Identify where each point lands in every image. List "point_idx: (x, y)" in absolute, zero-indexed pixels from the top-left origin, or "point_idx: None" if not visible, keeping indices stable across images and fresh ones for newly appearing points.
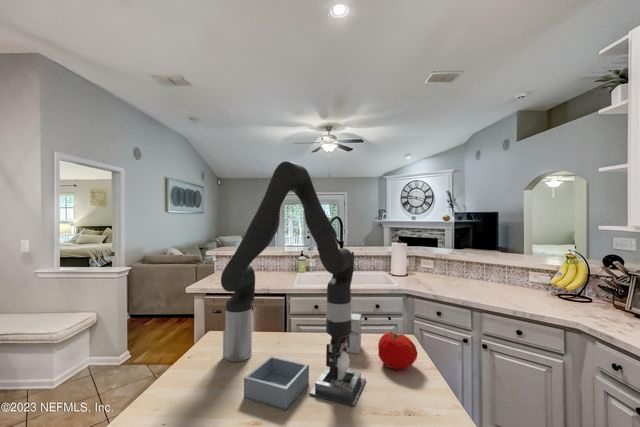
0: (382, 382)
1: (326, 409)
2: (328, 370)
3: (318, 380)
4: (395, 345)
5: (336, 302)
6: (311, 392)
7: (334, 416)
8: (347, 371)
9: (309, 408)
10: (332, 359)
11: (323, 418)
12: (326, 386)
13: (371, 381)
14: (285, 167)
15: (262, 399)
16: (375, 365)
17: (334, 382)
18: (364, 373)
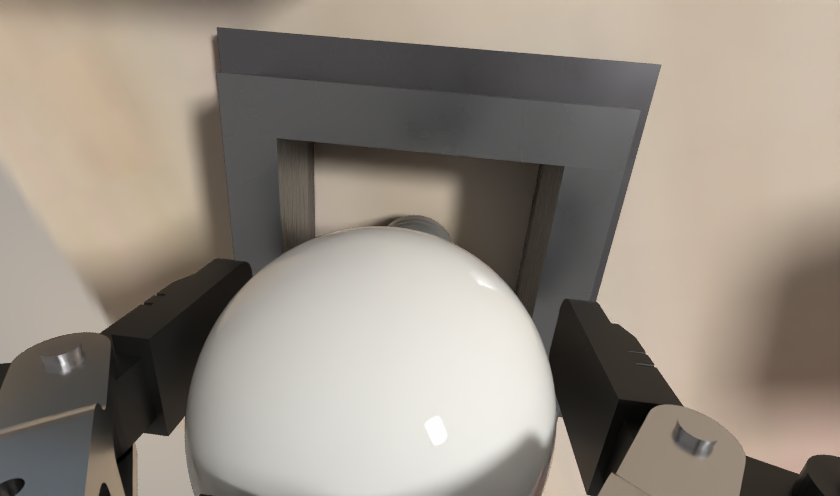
0: (570, 491)
1: (150, 218)
2: (513, 144)
3: (276, 93)
4: None
5: None
6: (230, 44)
7: (122, 280)
8: (543, 336)
9: (90, 96)
10: (193, 386)
11: (68, 223)
12: (230, 203)
13: (567, 437)
14: None
15: None
16: (819, 453)
17: (404, 225)
18: (676, 390)
